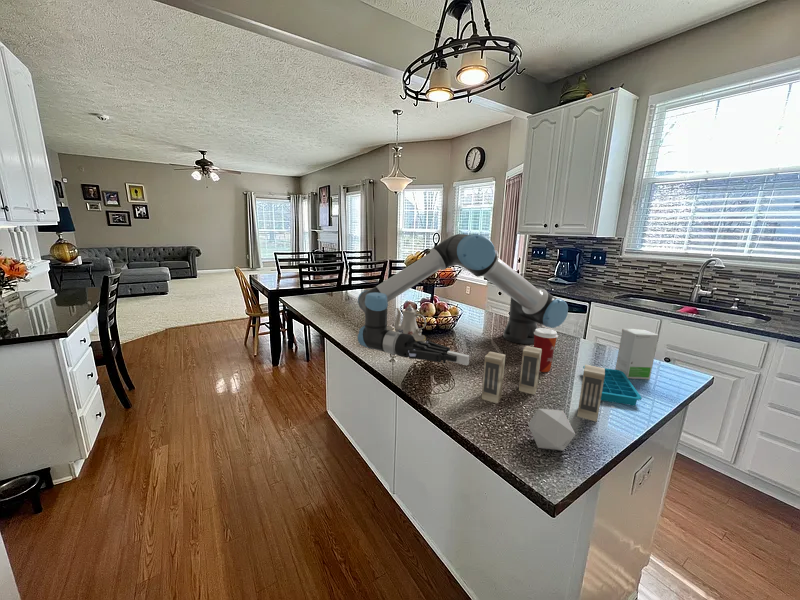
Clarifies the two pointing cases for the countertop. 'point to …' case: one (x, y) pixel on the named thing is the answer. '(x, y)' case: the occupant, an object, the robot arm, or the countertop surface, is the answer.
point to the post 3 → (591, 392)
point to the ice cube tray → (618, 388)
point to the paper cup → (545, 346)
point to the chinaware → (409, 323)
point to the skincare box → (636, 353)
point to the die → (551, 429)
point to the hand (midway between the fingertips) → (468, 360)
